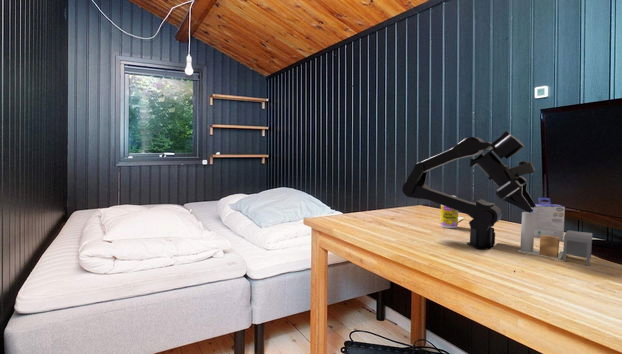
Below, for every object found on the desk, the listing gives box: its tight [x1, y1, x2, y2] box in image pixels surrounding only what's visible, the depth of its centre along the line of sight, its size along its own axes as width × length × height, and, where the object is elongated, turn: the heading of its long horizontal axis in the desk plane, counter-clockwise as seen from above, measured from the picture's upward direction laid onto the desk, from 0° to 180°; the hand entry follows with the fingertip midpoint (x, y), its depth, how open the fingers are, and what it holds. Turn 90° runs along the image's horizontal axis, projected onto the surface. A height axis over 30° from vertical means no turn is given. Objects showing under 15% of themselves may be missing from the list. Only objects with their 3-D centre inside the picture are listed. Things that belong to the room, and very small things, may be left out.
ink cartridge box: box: [531, 197, 566, 242], centre depth 113 cm, size 10×6×14 cm, turn 79°
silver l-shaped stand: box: [516, 211, 563, 260], centre depth 94 cm, size 10×6×12 cm, turn 47°
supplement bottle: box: [439, 194, 459, 229], centre depth 133 cm, size 7×7×13 cm
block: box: [538, 235, 560, 259], centre depth 92 cm, size 4×4×5 cm
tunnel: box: [562, 229, 594, 267], centre depth 88 cm, size 5×9×8 cm, turn 137°
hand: (533, 209), depth 96 cm, fingers open, 9 cm apart
